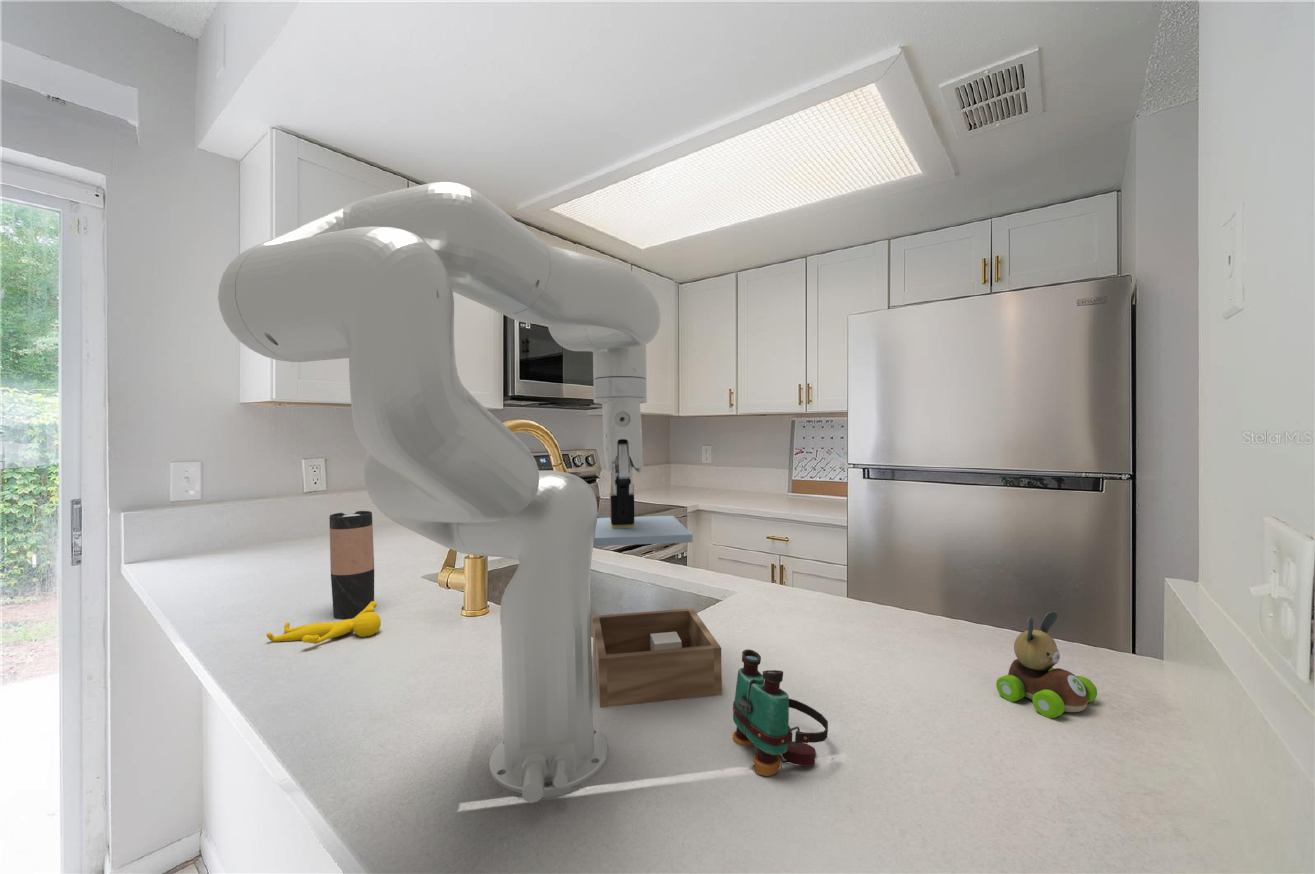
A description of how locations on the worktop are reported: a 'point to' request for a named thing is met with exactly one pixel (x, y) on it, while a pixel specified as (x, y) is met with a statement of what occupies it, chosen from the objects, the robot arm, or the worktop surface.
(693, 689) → the box
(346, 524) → the travel mug
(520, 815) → the worktop surface
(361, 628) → the figurine
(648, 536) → the lid
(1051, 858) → the worktop surface
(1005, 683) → the toy car
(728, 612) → the worktop surface
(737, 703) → the binoculars
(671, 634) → the cream cube
